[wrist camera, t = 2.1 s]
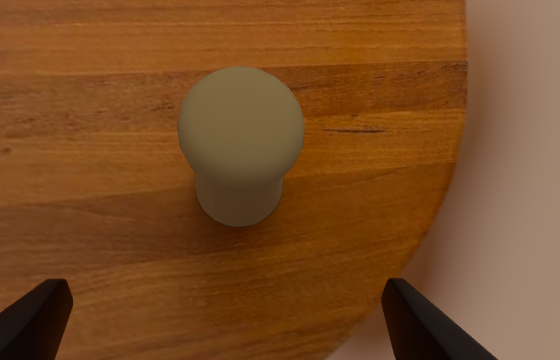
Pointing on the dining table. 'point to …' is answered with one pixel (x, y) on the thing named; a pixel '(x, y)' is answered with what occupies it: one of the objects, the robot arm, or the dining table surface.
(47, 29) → the dining table surface
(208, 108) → the tan peg doll
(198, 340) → the dining table surface
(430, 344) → the robot arm
